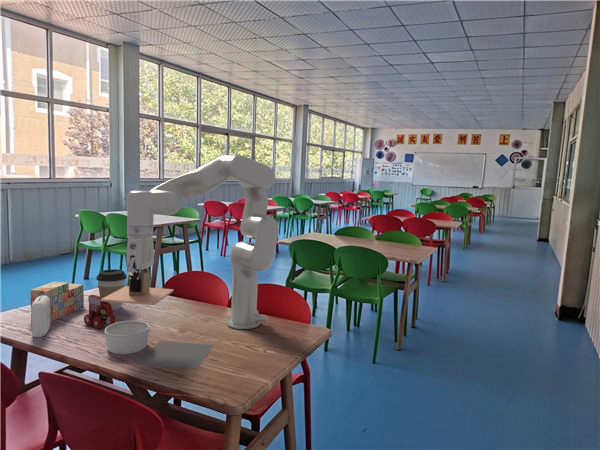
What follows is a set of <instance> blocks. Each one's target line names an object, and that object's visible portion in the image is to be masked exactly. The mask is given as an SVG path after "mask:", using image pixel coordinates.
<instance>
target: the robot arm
mask: <svg viewBox="0 0 600 450" xmlns="http://www.w3.org/2000/svg"><path fill="white" fill-rule="evenodd" d="M231 180H234V181H237V183H238V184H239V186H240V187H241V189H242V190H243V193H244V196H245V200H244V201H245V202H244V207H243V211H242V212H243V213H242V217H241V221H240V225H239V226H240V227H239V230H240V233H241V235H242V236H244V237H245V238H247V239H250V240H254V242H252V241H245V240H244V241H243V240H242V241H239V242H236V243H235V244H234V245H233V247H231V249H230V250H231V251H230V264H231V271H232V273H231V274H232V281H231V308H230V309H231V311H230V317H229V318H227V320H226V324H227V325H226V326H228V327H230V328H233V329H237V330H250V329H255V328H257V327H259V326H260V325H261V322H262V323H263V322H264V323H268V319H269V317H268V316H266V314H259V310H258V309H257V307H258V306H257V305H258V284H259V280H258V279H259V278H258V277H259V276H258V272H259V273H260V272H265V271H267V270H269V268H270V267H271V265H272V263H273V260H274V256H275V251H276V248H277V244H278V243H277V242H278V239H279V232H280V230H279V224H278V222H277V220H276V219H275V218H274V217H273V216H270V215H267V211H268V204H269V197H268V193H267V192H266V190H267V189H270V188H271V187H272V186H273V185H274V184H275V181H276V174H275V171H274V170H273V169H272V168H271V167H270V166H269V165H267V164H264V163H262V162H259V161H257V160H254V159H252V158H249V157H248V156H244V155H241V154H223V155H221V156H218V157H217V158H214V159H212V160H211V161H209V162H208V163H206V164H204V165H202V166H200V167H198V168H196V169H194V170H193V171H190V172H186V173H185V174H182V175H179V176H177V177H175V178H172V179H169V180H167V181H165V182H163V183H160V185H157V186H155V187H154V188H152V189H151V190H149V191H148V190H131V191H129V192H128V194H127V200H126V201H127V204H126V205H127V212H126V214H127V215H126V217H127V219H126V220H127V221H126V222H127V223H126V224H127V225H126V236H127V237H128V238H127V247H126V268H127V271H126V272H127V274H128V276H129V275H130V291H131V292H141V279H140V274H141V270H145V271H150V267H152V266H153V265H154V264H155V249H154V248H155V247H154V244H155V243H154V222H155V221H154V217H155V215H161V216H163V215H164V216H172V215H175V214H176V213H177V214H178V212H179V211H180V210H181V208H182V204H183V203H182V199H185V198H190V197H196V196H201V195H204V194H205V195H206V194H207V193H209V192H211V191H213V190H215V189H216V188H217V187H219V186H221V185H223V184H225V183H227V182H228V181H231ZM134 271H138V272H137V273H136V272H134Z"/></svg>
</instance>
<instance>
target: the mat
mask: <svg viewBox="0 0 600 450" xmlns="http://www.w3.org/2000/svg"><path fill="white" fill-rule="evenodd" d="M214 345H215V344H206V343H205V344H204V343H193V342H180V341H169V340H168V341H166V340H159V342H157V344H155V345H154V346H153V347H152V348H151V349H150V350H149V351H148V352H147V353H146V354H145V355H143V357H142V358H140V359H139V360H138V361H137V362H136V363H135V365H141V366H153V367H165V368H174V369H175V368H177V369H188V370H189V369H191V370H197V369H198V368H199V366H200V365H201V363H202V362H203V361H204V359H205V358H206V356H207V355H209V353H210V351H211V350H212V348H213V347H214Z"/></svg>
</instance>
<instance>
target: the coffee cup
mask: <svg viewBox="0 0 600 450" xmlns="http://www.w3.org/2000/svg"><path fill="white" fill-rule="evenodd" d="M127 278H128V277H127V274H126V273H125V271H124V270H123V269H117V268H115V269H114V268H113V269H111V268H110V269H105V270H100V271H99V272H98V274H97V275H96V279H95V280H97V284H98V293H99V296H100V297H103V298H104V297H106V296H108V295H110V294H112V293H114V292H116V291H117V290H119V289H121V288H123V287H125V286H126V285H125V283H126V279H127ZM108 303H110V304H111V307H112V310H113V311H117V310H120V309H121V308H122V305H123V303H118V302H108Z"/></svg>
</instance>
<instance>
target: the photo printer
mask: <svg viewBox="0 0 600 450" xmlns="http://www.w3.org/2000/svg"><path fill="white" fill-rule="evenodd" d="M50 329H51V322H50V299H49V298H48V297H47V296H39V297H37V298H36V299H35V301H34V302H33V304H32V322H31V335H32V337H33V338H42V337H45V336H46V335H47V334H48V332H49V330H50Z"/></svg>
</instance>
